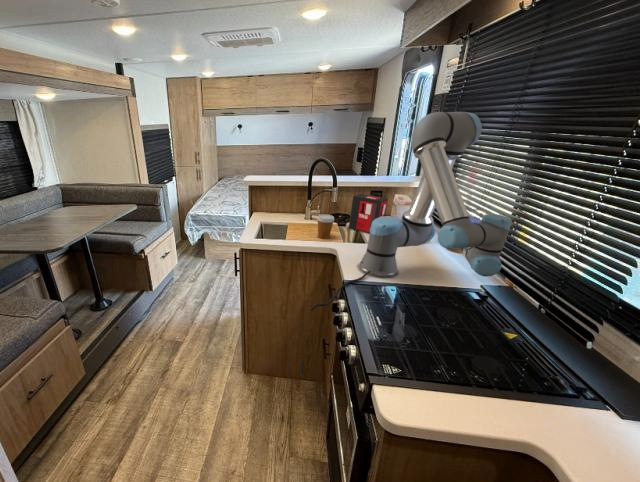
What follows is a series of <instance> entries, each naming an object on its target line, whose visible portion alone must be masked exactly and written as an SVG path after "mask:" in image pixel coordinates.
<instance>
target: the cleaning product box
mask: <svg viewBox="0 0 640 482" xmlns="http://www.w3.org/2000/svg"><path fill="white" fill-rule="evenodd" d="M388 200H389V198H388V197H384V196H383V197H382V196H377V195H376V196H375V195H371V194H370V195H369V194H366V193H365V194H364V193H359V194H356V195H353V196H352V202H351V209H350V217H349V224H348V229H349V230H354V231H357V232H361V233H365V234H369V235H370V228H371V225H372V222H373V221H374V220H375V219H377V218H379V217H386V211H387V207H388Z"/></svg>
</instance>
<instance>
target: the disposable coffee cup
mask: <svg viewBox="0 0 640 482" xmlns="http://www.w3.org/2000/svg"><path fill="white" fill-rule="evenodd" d="M316 220H317V237H318V238H320V239H322V240H323V239H324V240H326V239H330V237H331V232H332V228H333V225H334V222H335V216H333V215H331V214H325V213H324V214H323V213H322V214H318V215H317V217H316Z"/></svg>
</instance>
